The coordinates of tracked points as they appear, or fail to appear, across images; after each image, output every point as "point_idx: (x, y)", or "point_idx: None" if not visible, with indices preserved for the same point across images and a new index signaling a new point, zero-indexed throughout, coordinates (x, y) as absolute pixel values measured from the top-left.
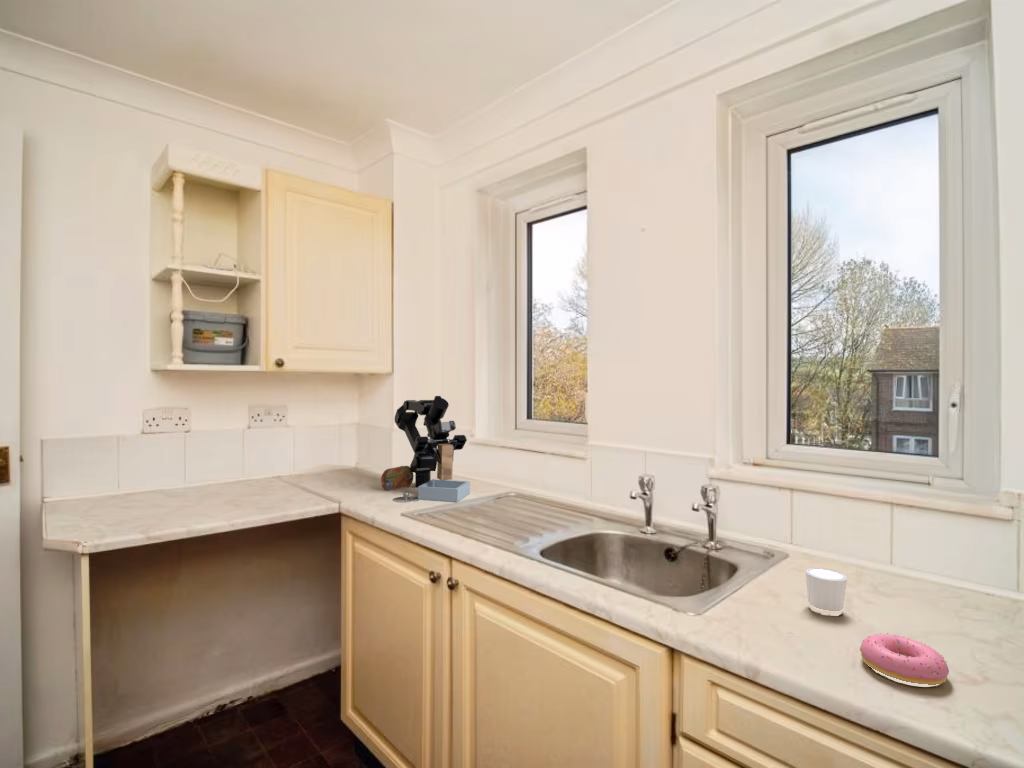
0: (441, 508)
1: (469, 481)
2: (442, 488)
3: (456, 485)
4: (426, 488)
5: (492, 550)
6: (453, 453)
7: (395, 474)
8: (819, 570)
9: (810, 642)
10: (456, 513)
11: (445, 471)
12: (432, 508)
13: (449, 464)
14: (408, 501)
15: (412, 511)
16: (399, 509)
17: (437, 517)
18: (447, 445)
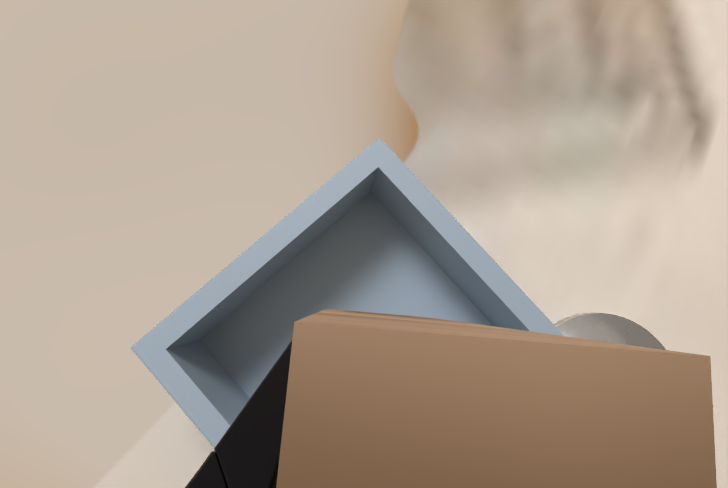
0: (488, 137)
1: (132, 348)
2: (457, 222)
3: (231, 407)
4: (541, 315)
5: None
6: (229, 429)
7: None
8: None
9: None
10: (468, 16)
11: (407, 316)
12: (529, 162)
13: (366, 314)
14: (609, 336)
15: (641, 161)
16: (686, 232)
17: (577, 5)
18: (512, 339)
